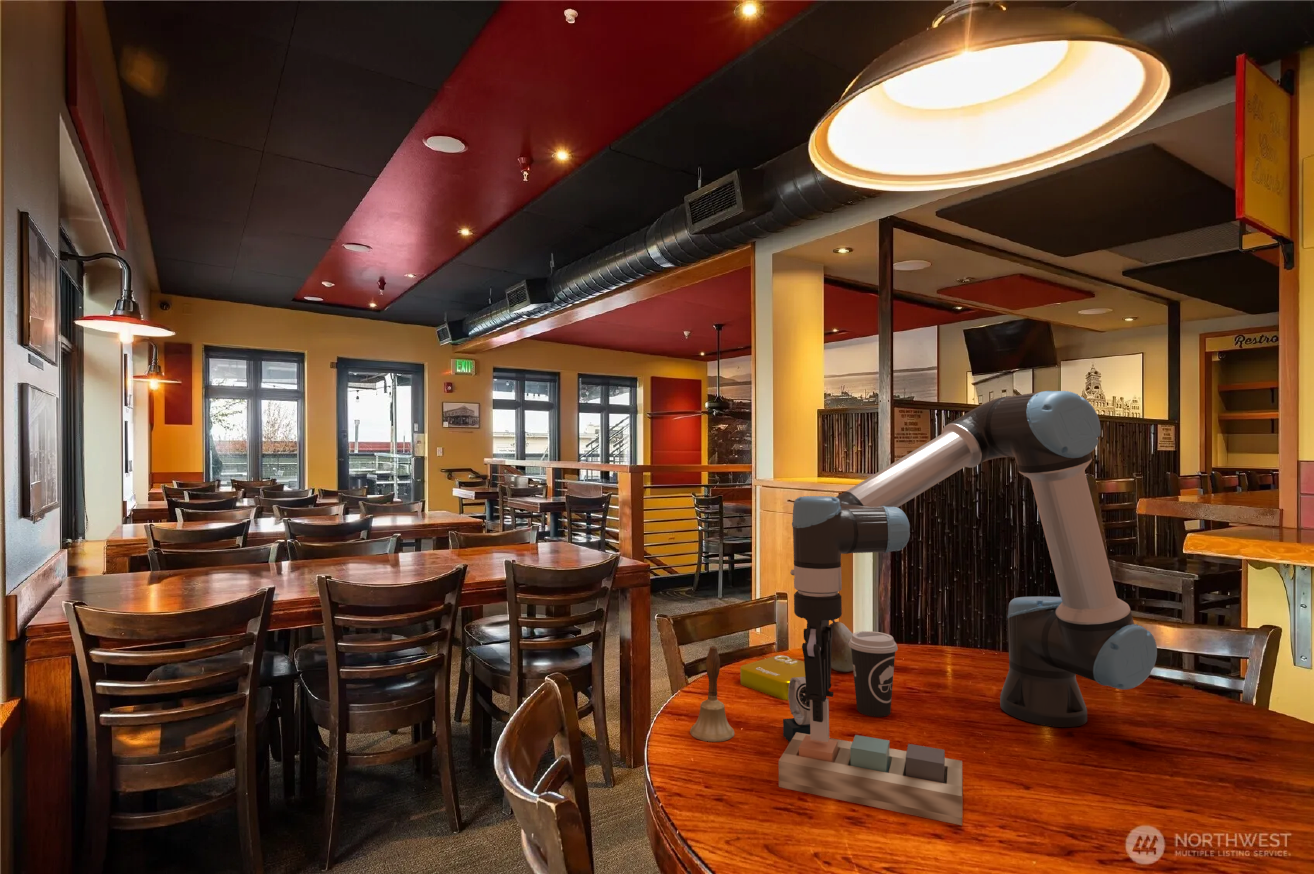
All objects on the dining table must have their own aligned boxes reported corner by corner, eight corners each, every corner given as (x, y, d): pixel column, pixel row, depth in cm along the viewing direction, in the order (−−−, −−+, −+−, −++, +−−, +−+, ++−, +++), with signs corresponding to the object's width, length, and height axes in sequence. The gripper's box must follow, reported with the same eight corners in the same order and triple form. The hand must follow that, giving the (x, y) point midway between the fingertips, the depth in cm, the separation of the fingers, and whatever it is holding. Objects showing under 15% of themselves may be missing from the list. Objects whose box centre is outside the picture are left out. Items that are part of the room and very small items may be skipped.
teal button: (889, 766, 105) (889, 740, 105) (886, 780, 100) (885, 753, 100) (855, 759, 107) (855, 734, 107) (850, 773, 102) (850, 747, 102)
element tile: (736, 685, 152) (736, 663, 152) (779, 671, 161) (779, 651, 161) (788, 703, 140) (788, 680, 140) (831, 688, 150) (831, 666, 150)
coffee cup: (891, 702, 139) (891, 630, 140) (904, 720, 130) (903, 643, 130) (845, 701, 140) (844, 629, 141) (854, 718, 131) (853, 641, 131)
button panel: (962, 786, 104) (962, 760, 104) (962, 825, 93) (961, 796, 93) (796, 755, 114) (796, 732, 115) (778, 786, 104) (778, 760, 104)
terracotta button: (838, 765, 108) (837, 740, 108) (832, 779, 103) (832, 753, 104) (806, 759, 110) (805, 734, 111) (799, 772, 106) (798, 747, 106)
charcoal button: (944, 776, 102) (944, 749, 102) (943, 791, 97) (943, 763, 97) (908, 769, 104) (908, 743, 104) (905, 784, 99) (905, 757, 99)
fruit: (827, 660, 168) (826, 613, 169) (865, 665, 165) (865, 616, 165) (820, 672, 159) (819, 622, 159) (861, 677, 155) (860, 626, 156)
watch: (797, 750, 116) (796, 687, 117) (779, 732, 124) (779, 672, 125) (826, 747, 118) (826, 684, 118) (807, 729, 125) (807, 670, 126)
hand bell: (735, 725, 128) (734, 641, 128) (733, 743, 119) (733, 654, 120) (692, 722, 129) (692, 639, 129) (687, 740, 121) (687, 651, 121)
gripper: (803, 583, 115) (805, 720, 115) (784, 597, 104) (787, 751, 103) (847, 586, 112) (850, 727, 111) (833, 601, 100) (836, 759, 100)
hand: (819, 738), depth 107 cm, fingers closed
